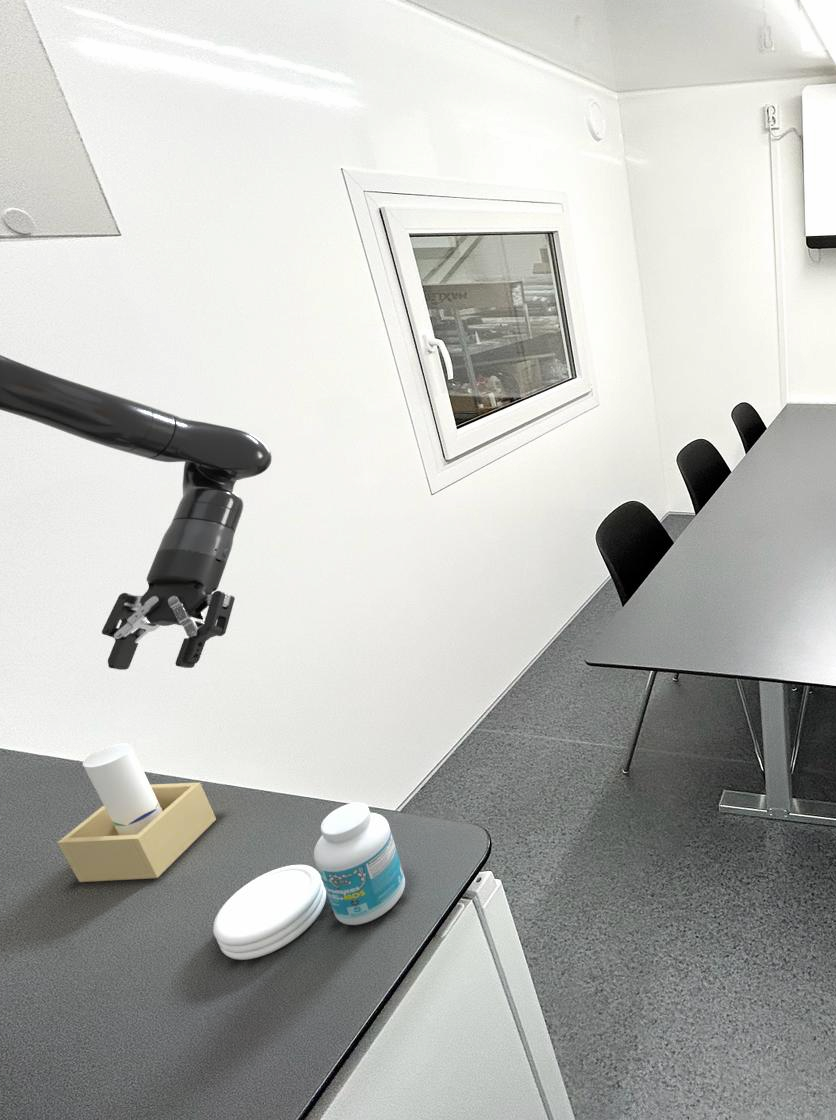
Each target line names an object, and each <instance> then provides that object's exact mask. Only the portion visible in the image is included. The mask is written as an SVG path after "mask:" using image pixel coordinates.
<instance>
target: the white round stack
mask: <svg viewBox="0 0 836 1120" xmlns="http://www.w3.org/2000/svg"><path fill="white" fill-rule="evenodd" d="M326 901H327V892H326V889H325V887H324V884H323V881H322V879H321V876H320V873H319V870H318V869H316V868H315V867H313V866H311V865H308V864H307V865H306V864H291V865H286V866H282V867H279V868H275V869H272V870H270V871H268V872H266V873H263V874H261V875H259V876H257V877H255V878H254V879H253V880H251V881H249V882H248V883H246V884H245V885H244V886H242V887H241V888H239V889H238V890H237V891H235V892H234V894H233V895H232V896H230V898H228V899H227V900H226V902H225V903H224V904H222V907H221V908H220V909H219V911H218V912H217V914H216V916H215V918H214V922H213V925H212V927H213V928H212V933H213V936H214V938H215V939H216V942H217V944H218V945H219V949H220V950H221V952H222V953H223V955H225V956H227V957H229V958H231V959H233V960H238V961H243V960H244V961H245V960H253V959H257V958H260V957H264V956H266V955H269V954H271V953H274V952H275V951H277V950H279V949H281V948H283V947H285V946H286V945H288V944H289V943H291V942H292V941H294V940H295V939H297V938H298V937H300V935H302V934H303V933H304V932H305V931H306V930H307V929H308V928H309V927H311V926H312V924H313V923H314V922H315V921H316V920H317V919H318V918H319V916H320V914H321V912H322V911H323V909H324V907H325V904H326Z"/></svg>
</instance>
